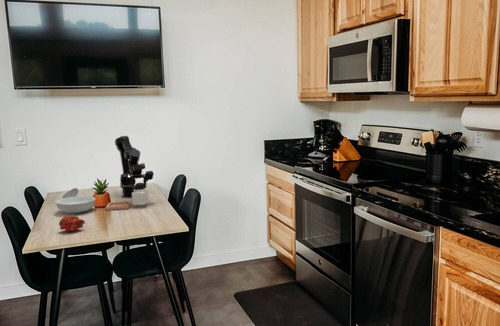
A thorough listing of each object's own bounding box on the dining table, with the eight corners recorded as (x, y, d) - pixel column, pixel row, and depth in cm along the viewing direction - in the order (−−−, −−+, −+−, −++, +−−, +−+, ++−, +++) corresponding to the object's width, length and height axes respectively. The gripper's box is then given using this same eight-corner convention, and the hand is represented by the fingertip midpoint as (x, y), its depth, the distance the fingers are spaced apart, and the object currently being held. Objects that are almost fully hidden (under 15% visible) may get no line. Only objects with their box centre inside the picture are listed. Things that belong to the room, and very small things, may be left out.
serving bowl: (80, 217, 231) (79, 205, 230) (48, 215, 237) (47, 203, 236) (103, 207, 251) (102, 196, 250) (74, 206, 257) (73, 195, 256)
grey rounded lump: (79, 209, 267) (79, 197, 262) (61, 209, 264) (61, 197, 258) (79, 198, 276) (80, 185, 271) (62, 198, 272) (62, 185, 267)
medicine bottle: (148, 201, 253) (147, 182, 251) (144, 204, 246) (143, 184, 244) (136, 201, 254) (135, 182, 252) (132, 204, 247) (131, 184, 245)
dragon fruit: (58, 234, 207) (84, 236, 209) (55, 228, 199) (82, 230, 202) (61, 218, 211) (87, 219, 213) (58, 211, 203) (85, 213, 206)
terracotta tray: (105, 210, 243) (105, 207, 243) (109, 205, 255) (109, 202, 255) (128, 209, 245) (127, 206, 245) (130, 204, 257) (130, 201, 257)
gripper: (119, 160, 245) (125, 182, 237) (151, 157, 254) (158, 178, 246) (117, 171, 253) (123, 193, 245) (149, 168, 262) (155, 189, 254)
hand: (140, 188), depth 248 cm, fingers closed on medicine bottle, 6 cm apart
